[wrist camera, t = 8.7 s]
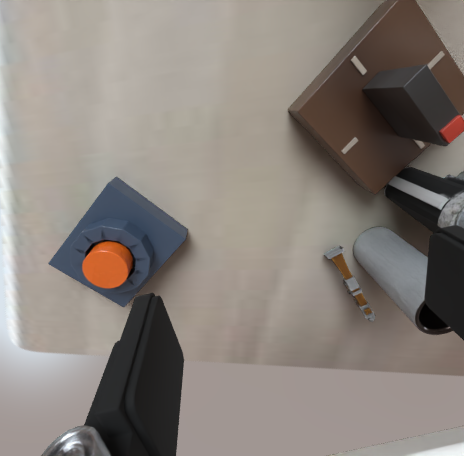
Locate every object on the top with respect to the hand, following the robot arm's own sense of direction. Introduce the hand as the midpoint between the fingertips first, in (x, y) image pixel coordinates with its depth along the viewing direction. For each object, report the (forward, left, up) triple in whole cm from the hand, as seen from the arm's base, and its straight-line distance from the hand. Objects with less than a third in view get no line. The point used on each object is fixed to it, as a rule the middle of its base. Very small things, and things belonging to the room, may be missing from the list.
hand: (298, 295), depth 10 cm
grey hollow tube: (-3, +16, -18) cm, 24 cm away
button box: (+13, -4, -18) cm, 22 cm away
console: (-11, +4, -18) cm, 22 cm away
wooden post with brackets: (+1, +16, -18) cm, 24 cm away
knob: (-11, +4, -15) cm, 19 cm away
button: (+13, -4, -14) cm, 20 cm away
